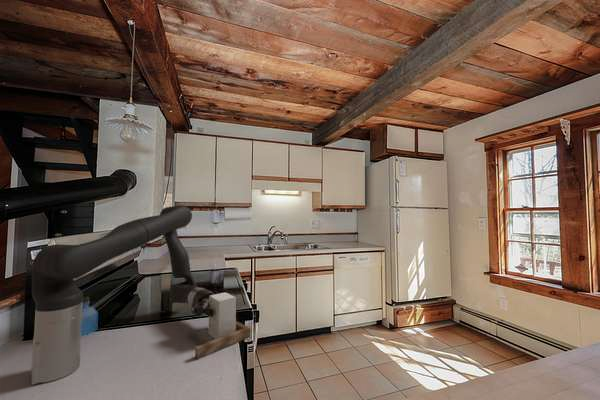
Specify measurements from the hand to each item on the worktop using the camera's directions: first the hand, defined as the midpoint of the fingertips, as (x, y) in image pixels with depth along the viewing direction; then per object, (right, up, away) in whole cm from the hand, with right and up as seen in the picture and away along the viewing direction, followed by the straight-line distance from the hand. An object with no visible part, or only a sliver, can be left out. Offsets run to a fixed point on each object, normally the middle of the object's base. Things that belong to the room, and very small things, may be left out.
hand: (224, 310), depth 87 cm
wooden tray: (-4, -9, -1) cm, 10 cm away
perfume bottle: (-51, -9, +3) cm, 52 cm away
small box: (-1, -9, +1) cm, 9 cm away
